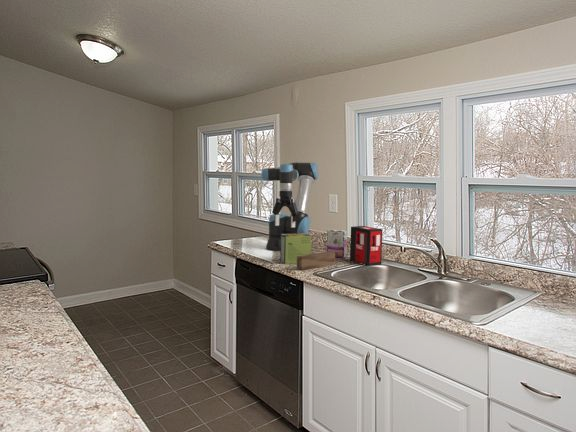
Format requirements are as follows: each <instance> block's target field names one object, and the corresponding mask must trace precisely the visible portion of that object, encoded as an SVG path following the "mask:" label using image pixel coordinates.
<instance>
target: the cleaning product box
mask: <svg viewBox="0 0 576 432" xmlns="http://www.w3.org/2000/svg"><path fill="white" fill-rule="evenodd" d="M349 245H350V246H349V247H350V248H349V249H350V250H349V261H350V262H352V261H353V262H352V263H356V262H357V263H356V264H359V263H362V264H361V265H363V264H365V265H364V266H367V267H373V266H381V265H382V257H383V256H382V251H383V248H382V247H383V228H378V227H371V226H365V225H357V226H350V243H349Z"/></svg>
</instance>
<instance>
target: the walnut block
mask: <svg viewBox="0 0 576 432" xmlns="http://www.w3.org/2000/svg"><path fill="white" fill-rule="evenodd" d="M335 265H336V257H335V252H330V251H329V252H327V251H323V252H316V253H311V254H307V255H300V256H297V263H296V269H297V270H298V271H306V270H314V269H317V268H323V267H325V268H326V267H330V266H335Z"/></svg>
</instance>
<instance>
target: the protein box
mask: <svg viewBox="0 0 576 432" xmlns="http://www.w3.org/2000/svg"><path fill="white" fill-rule="evenodd" d="M279 254H280V255H279V256H280V257H279V259H280V262H282V263H283V264H284V265H292V264H296V265H297V256H300V255H307V254H312V235H310V234H308V233H303V234H281V251H280V253H279Z"/></svg>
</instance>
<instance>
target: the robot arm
mask: <svg viewBox="0 0 576 432" xmlns="http://www.w3.org/2000/svg"><path fill="white" fill-rule="evenodd" d="M261 179H262V180H263V181H268V182H270V181H277V182H278V181H279V193H278V194H279V195H278V197H279V198H278V197H277V198H276V199H275V203H274V206H273V209H272V212H271V213H272V214H271V215H270V216H269V218H268V239H267V242H266V245H265V249H266V250H267V249H268V251H273V250H275V251H276V252H277V251H280V252H281V234H303V233H306V234H308V232H309V230H310V227H311V218H310V217H309V214H308V208H309V202H310V196H311V191H312V185H314V183H315V181H316V180H318V179H319V169H318V165H317V163H315V162H291V163H283V164H282V163H281V164H280V166H277V167H271V168H268V167H265V168H262V169H261ZM295 181H298V182H299V184H298V188H297V193H296V198H292V197H293V182H295ZM284 207H286V208H287V209H288V210H289V212H290V215H289V216H288V214H287V213H280V212H281V211H282V209H283V208H284Z"/></svg>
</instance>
